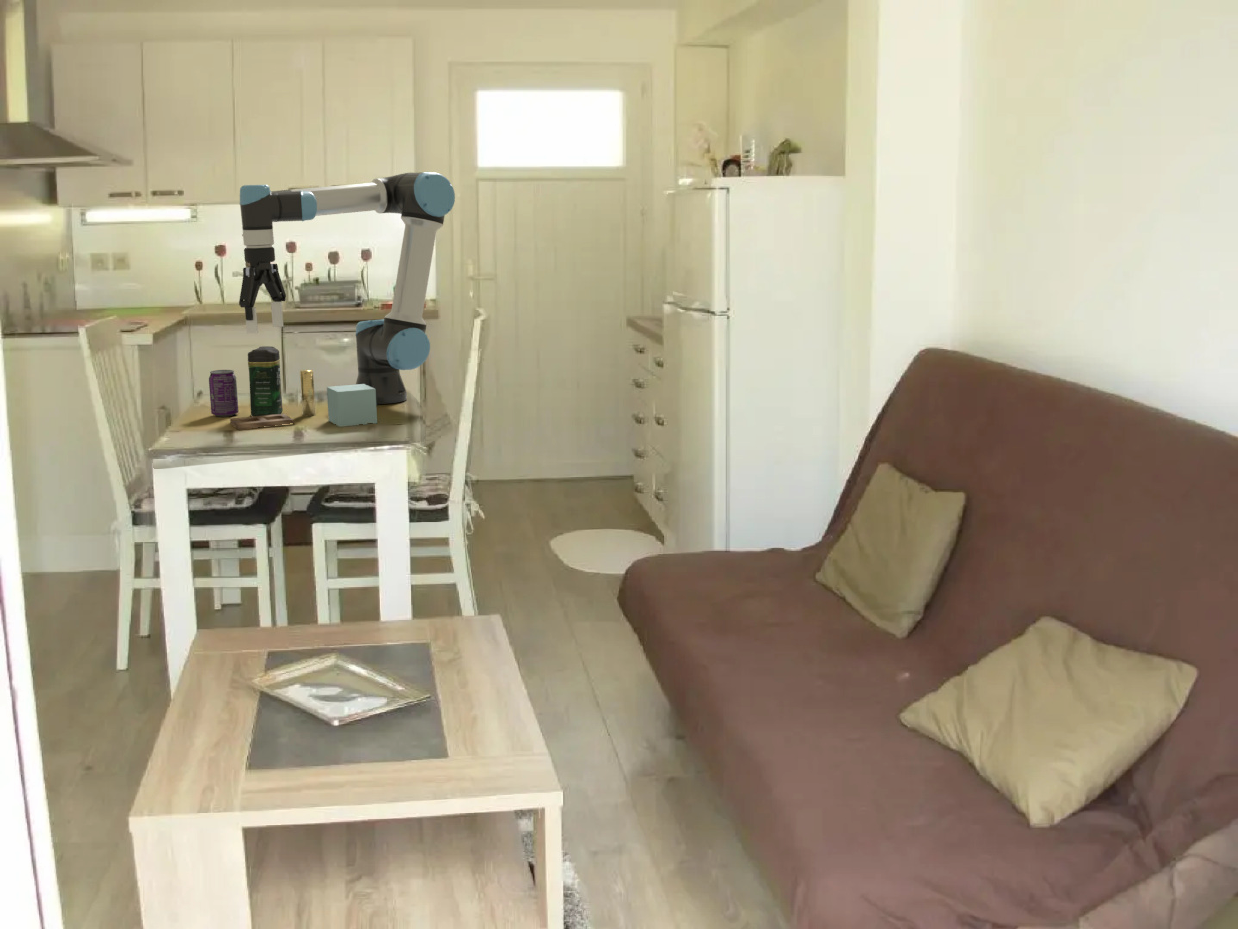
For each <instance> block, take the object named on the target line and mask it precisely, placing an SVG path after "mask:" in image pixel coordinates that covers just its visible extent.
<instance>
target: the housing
mask: <svg viewBox="0 0 1238 929" xmlns="http://www.w3.org/2000/svg"><path fill="white" fill-rule="evenodd" d="M326 396H327V414H328V422H330V423H332V424H334V425H335V424H336V425H335V426H338V427H351V426H360V425H359V424H363V425H368V424H367V423H373V424H378V416H377V414H378V413H377V412H378V411H377V404H376V389H375V388H372V387H370V386H368V385H365V384H356V383H355V384H350V385H349V384H345V385H335V386H334V385H333V386H326Z"/></svg>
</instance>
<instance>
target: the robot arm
mask: <svg viewBox="0 0 1238 929" xmlns="http://www.w3.org/2000/svg"><path fill="white" fill-rule="evenodd" d="M455 199H456V194H455V190H454V187H453V185H452V184H451V182H450V180H449V179H448V178H447V177H446V176H444V175H443V174H441V173H438V172H433V171H423V172H403V173H398V174H395V175H392V176H387V177H386V176H385V177H378V178H373V179H372V181H371V182H364V183H363V182H362V183H361V182H360V183H354V184H353V183H351V184H342V185H341V184H339V185H330V186H327V185H326V186H317V187H316V186H315V187H307V188H306V187H304V188H294V189H293V188H292V189H284V190H283V189H281V190H273V191H271V188H270V186H269V185H268V184H244V185H242V186H241V187H240V188H239V206H240V216H241V225H242V227H241V228H242V234H241V235H242V237H243V238H242V240H243V241H242V242H243V245H244V246H245V248H244V249H243V254H244V256H243V257H244V262H246V263H248V264H249V267H243V268H242V282H241V290H240V294H239V301H238V305H239V307H240V308H244V313H245V326H246V327H245V328H246V334H258V333H259V328H258V317H257V315H258V314H257V307H255V303H256V300H257V298H258V294H259V290H260V287H261V286H262V285H264V287H265V289H266V291H267V292H268V294H269V296H270V298H271V299H272V301H270V308H271V320H272V327H275V328H282V327H283V328H284V315H283V314H284V313H283V304H282V302H285V301H286V300H287V299H286V298H287V293H286V291H285V288H284V284H283V282H282V278H281V276H280V272H279V266H278V264H277V263H273V262H275V261H276V254H275V247H274V246H273V245H275V239H274V238H275V237H274V227H273V223H279V222H305V221H312V220H314V219H315V217H317V216H328V215H330V216H331V215H339V214H349V213H350V214H351V213H361V212H363V213H364V212H370V211H375V212H376V214H398V215H400V219H401V220H402V222H403V224H404V231H403V237H402V243H401V250H400V254H399V255H400V256H399V261H398V267H397V274H396V279H395V280H396V281H395V285H394V293H393V297H392V303H391V304H392V305H391V310H390V312H389V313H387V314H386V315H385V316H384V318H383V319H375V320H374V319H373V320H362V321H358V323H357V324H355V325H356V326H355V341H356V359H357V378H356V382H355V385H356V384H365V385H368V386H370V387H372V388H375V389H376V405H386V404H387V405H389V404H396V403H401V402H404V401H407V399H408V396H407V395H408V393H407V389H406V387H405V384H404V381H403V378H402V376H401V373H400V372H401V371H411V370H415V369H417V368H419V367H420V366H421V365H423V364H424V363H425V362H426V360H427V359H428V357H429V354H430V350H431V343H430V342H431V341H430V339H429V338H428V335H427V333H426V331H427V322H426V321H425V319H424V318H423V314H424V308H425V301H426V295H427V289H428V284H429V278H430V273H431V272H430V271H431V266H432V259H433V254H434V248H435V243H436V242H435V241H436V235H437V232H438V230H440V229H441V228H443V226H444V222H445V217H446V216H445V215H447V214H449V212H451V211H452V209H453V207H454V206H455V202H456V200H455ZM400 370H401V371H400Z"/></svg>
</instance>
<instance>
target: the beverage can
mask: <svg viewBox="0 0 1238 929" xmlns="http://www.w3.org/2000/svg"><path fill="white" fill-rule="evenodd" d="M209 373H210V375H209V377H208V385H209V387H208V388H209V400H210V402H209V403H210V413H211V415H213V416H215V417H217V418H228V417H229V418H230V417H233V416H236V414H238V413H239V399H238V397H239V396H238V387H237V377H236V374H235V370H233V369H217V370H210V371H209Z"/></svg>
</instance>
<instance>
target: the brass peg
mask: <svg viewBox="0 0 1238 929" xmlns="http://www.w3.org/2000/svg"><path fill="white" fill-rule="evenodd" d="M299 376H300V391H301V395H300V396H301V408H302V410H301V412H302V416H304V417H311V416H315V415H316V400H315V399H316V398H315V383H314V380H315V379H314V370H313V369H301V370H299Z"/></svg>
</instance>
